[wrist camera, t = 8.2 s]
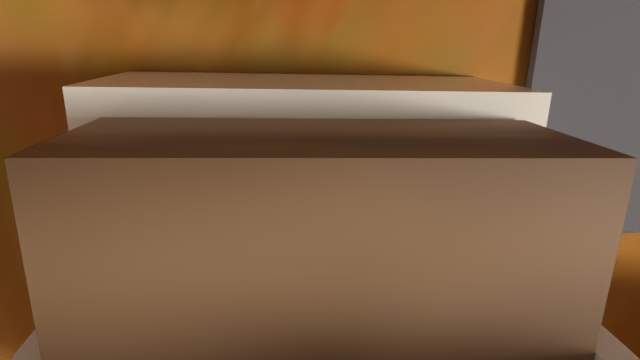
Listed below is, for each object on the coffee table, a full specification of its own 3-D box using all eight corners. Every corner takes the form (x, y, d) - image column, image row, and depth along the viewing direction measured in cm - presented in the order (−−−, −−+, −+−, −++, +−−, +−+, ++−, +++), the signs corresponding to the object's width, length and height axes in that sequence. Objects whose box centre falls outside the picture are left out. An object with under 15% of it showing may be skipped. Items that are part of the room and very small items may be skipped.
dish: (128, 71, 16) (62, 86, 11) (473, 76, 17) (552, 92, 12) (157, 369, 19) (117, 480, 14) (440, 358, 20) (491, 458, 15)
